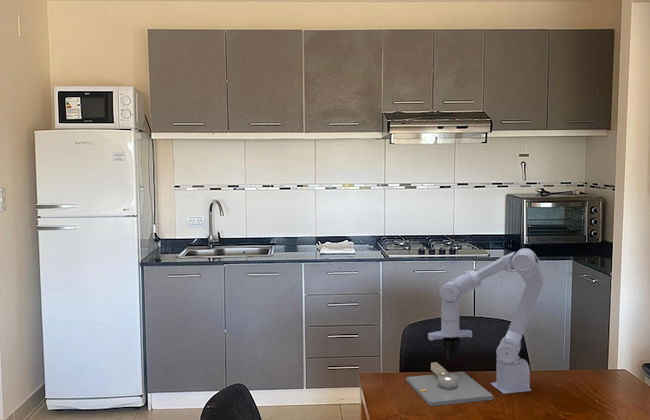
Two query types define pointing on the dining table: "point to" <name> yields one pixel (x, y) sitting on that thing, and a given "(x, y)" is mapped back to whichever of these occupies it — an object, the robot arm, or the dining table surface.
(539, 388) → the dining table surface
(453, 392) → the lock plate
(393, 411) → the dining table surface
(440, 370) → the door lever handle
